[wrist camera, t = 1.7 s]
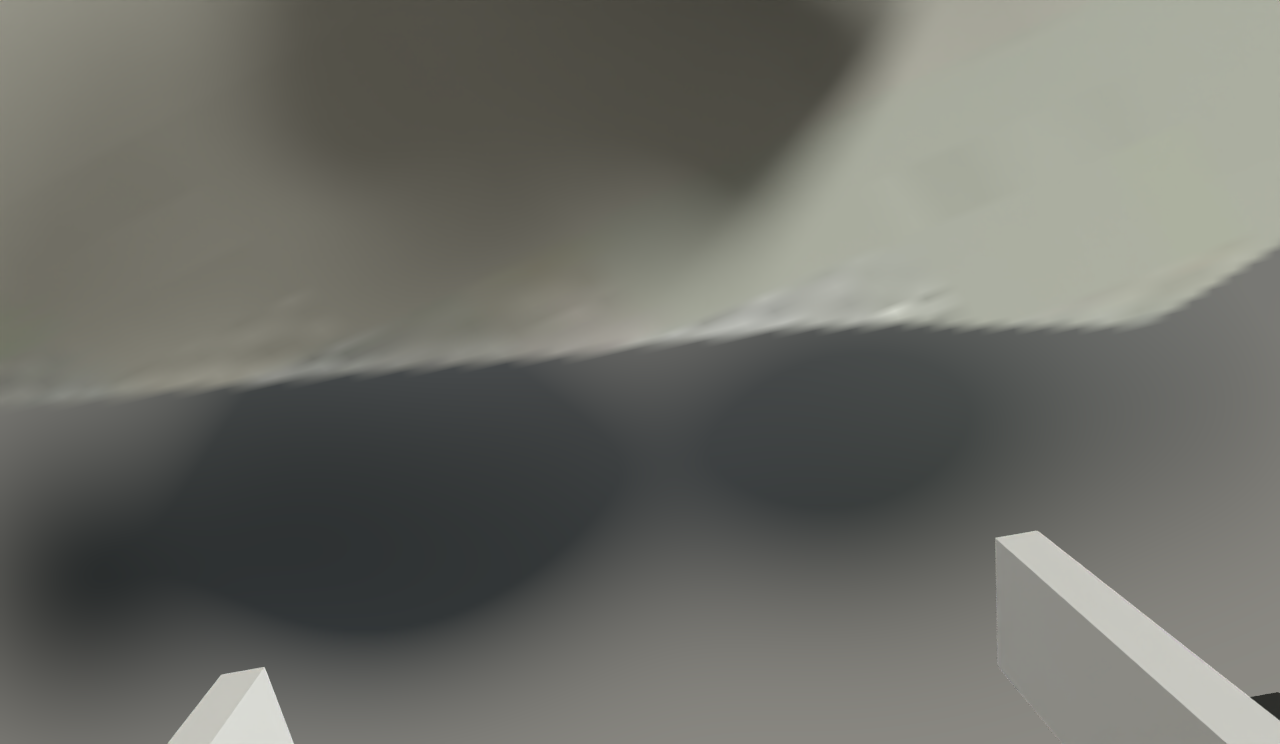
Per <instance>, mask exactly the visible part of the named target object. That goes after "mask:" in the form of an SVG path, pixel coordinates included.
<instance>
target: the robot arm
mask: <svg viewBox="0 0 1280 744" xmlns="http://www.w3.org/2000/svg"><path fill="white" fill-rule="evenodd" d="M995 551H996V606H997V607H996V610H997V662H998V663H997V665H998V667H999V669H1000V670H1001V671H1002V672H1003V673H1004V675H1005V676H1006V677H1007V678H1008V679H1009V680H1010V682H1011V683H1012V684H1013V686H1014V687H1015V688H1016V689H1017V690H1018V691H1019V693H1020V694H1021V695H1022V696H1023V697H1024V699H1025V700H1026V701H1027V702H1028V704H1029V705H1030V706H1031V707H1032V708H1033V710H1034V711H1035V712H1036V713H1037V714H1038V716H1039V717H1040V718H1041V719H1042V720H1043V722H1044V723H1045V724H1046V725H1047V727H1048V728H1049V729H1050V730H1051V731H1052V733H1053V734H1054V735H1055V736H1056V737H1057V739H1058V740H1059V741H1060V742H1061V743H1062V744H1280V693H1278V692H1276V693H1271V694H1265V695H1260V696H1254V697H1249V696H1248V695H1246V694H1245V693H1244V692H1242V691H1241V690H1240V689H1239V688H1237V687H1236V686H1235V685H1234V684H1232V683H1231V682H1230V681H1229V680H1227V679H1226V678H1225V677H1223V676H1222V675H1221V674H1220V673H1218V672H1217V671H1216V670H1214V669H1213V668H1212V667H1211V666H1209V665H1208V664H1207V663H1206V662H1204V661H1203V660H1202V659H1200V658H1199V657H1198V656H1197V655H1195V654H1194V653H1193V652H1192V651H1190V650H1189V649H1187V648H1186V647H1185V646H1184V645H1183V644H1181V643H1180V642H1179V641H1177V640H1176V639H1175V638H1174V637H1172V636H1171V635H1170V634H1169V633H1167V632H1166V631H1165V630H1163V629H1162V628H1161V627H1160V626H1158V625H1157V624H1156V623H1155V622H1153V621H1152V620H1151V619H1149V618H1148V617H1147V616H1146V615H1144V614H1143V613H1142V612H1141V611H1139V610H1138V609H1137V608H1135V607H1134V606H1133V605H1132V604H1130V603H1129V602H1128V601H1127V600H1125V599H1124V598H1123V597H1121V596H1120V595H1119V594H1118V593H1116V592H1115V591H1114V590H1113V589H1111V588H1110V587H1109V586H1107V585H1106V584H1105V583H1104V582H1102V581H1101V580H1100V579H1098V578H1097V577H1096V576H1095V575H1093V574H1092V573H1091V572H1090V571H1088V570H1087V569H1086V568H1084V567H1083V566H1082V565H1081V564H1079V563H1078V562H1077V561H1076V560H1074V559H1073V558H1072V557H1070V556H1069V555H1068V554H1066V553H1065V552H1064V551H1063V550H1062V549H1060V548H1059V547H1058V546H1056V545H1055V544H1054V543H1053V542H1051V541H1050V540H1049V539H1047V538H1046V537H1045V536H1044V535H1042V534H1041V533H1040V532H1039V531H1032V532H1027V533H1021V534H1015V535H1010V536H1004V537H999V538H995ZM168 744H294V743H293V741H292V738H291V735H290V733H289V730H288V727H287V725H286V722H285V719H284V717H283V714H282V711H281V709H280V706H279V704H278V701H277V698H276V696H275V693H274V691H273V688H272V685H271V683H270V680H269V677H268V675H267V672H266V670H265V667H262V668H256V669H251V670H246V671H239V672H234V673H228V674H222V675H221V676H220V677H219V678H218V680H217V681H216V682H215V683H214V685H213V686H212V687H211V689H210V690H209V691H208V692H207V694H206V695H205V696H204V697H203V699H202V700H201V701H200V703H199V704H198V705H197V707H196V708H195V709H194V710H193V712H192V713H191V714H190V715H189V717H188V718H187V719H186V720H185V722H184V723H183V724H182V726H181V727H180V728H179V729H178V731H177V732H176V733H175V735H174V736H173V737H172V738H171V740H170V741H169V742H168Z"/></svg>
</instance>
